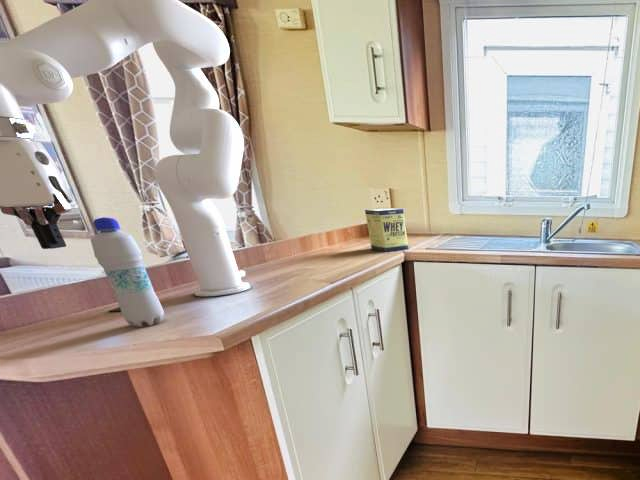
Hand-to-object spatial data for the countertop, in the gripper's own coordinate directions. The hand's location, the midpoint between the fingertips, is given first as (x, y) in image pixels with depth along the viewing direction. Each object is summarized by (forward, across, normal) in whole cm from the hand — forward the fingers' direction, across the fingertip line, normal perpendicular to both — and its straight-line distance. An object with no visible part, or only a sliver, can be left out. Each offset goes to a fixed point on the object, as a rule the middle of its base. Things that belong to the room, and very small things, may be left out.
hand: (54, 247), depth 77 cm
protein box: (+15, -40, -102) cm, 111 cm away
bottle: (+15, -10, 0) cm, 19 cm away
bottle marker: (+15, +4, -15) cm, 22 cm away
